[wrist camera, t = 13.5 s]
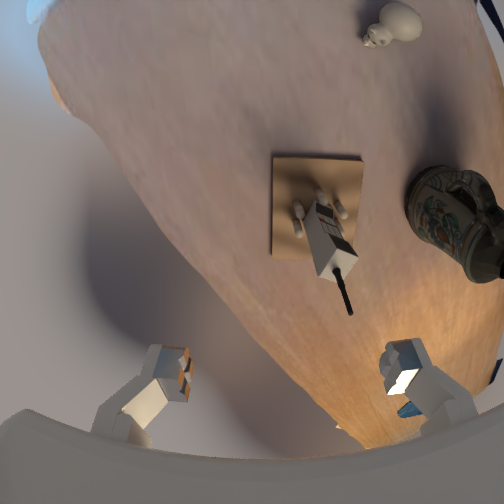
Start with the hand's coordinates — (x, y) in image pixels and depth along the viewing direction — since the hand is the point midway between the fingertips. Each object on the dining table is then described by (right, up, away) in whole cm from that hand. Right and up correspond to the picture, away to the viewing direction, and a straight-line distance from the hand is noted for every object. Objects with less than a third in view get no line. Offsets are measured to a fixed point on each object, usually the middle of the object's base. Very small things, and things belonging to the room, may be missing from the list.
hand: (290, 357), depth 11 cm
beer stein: (+35, +16, +38) cm, 54 cm away
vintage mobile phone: (+10, +11, +40) cm, 43 cm away
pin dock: (+10, +12, +41) cm, 44 cm away
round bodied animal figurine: (+21, +42, +22) cm, 52 cm away
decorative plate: (+80, -67, +89) cm, 137 cm away
